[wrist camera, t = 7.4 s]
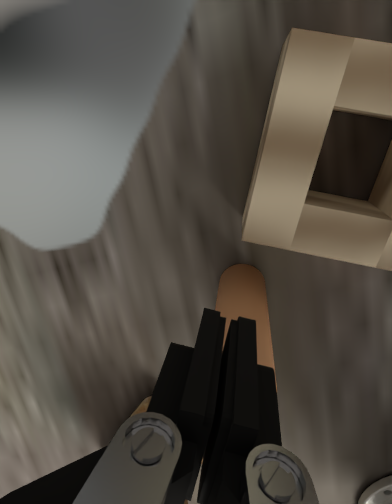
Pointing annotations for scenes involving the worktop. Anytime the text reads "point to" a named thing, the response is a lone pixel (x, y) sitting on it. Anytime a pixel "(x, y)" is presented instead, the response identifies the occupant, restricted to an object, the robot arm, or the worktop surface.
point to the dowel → (246, 306)
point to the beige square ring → (308, 148)
